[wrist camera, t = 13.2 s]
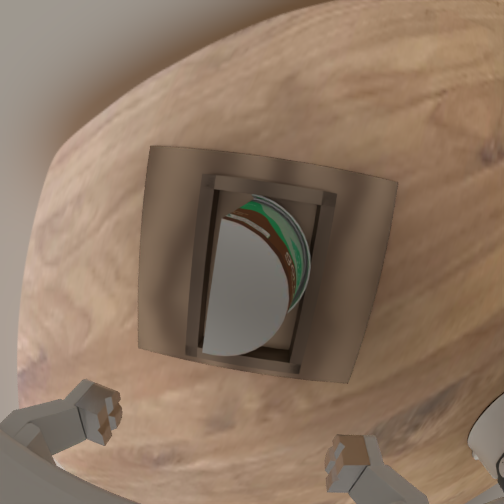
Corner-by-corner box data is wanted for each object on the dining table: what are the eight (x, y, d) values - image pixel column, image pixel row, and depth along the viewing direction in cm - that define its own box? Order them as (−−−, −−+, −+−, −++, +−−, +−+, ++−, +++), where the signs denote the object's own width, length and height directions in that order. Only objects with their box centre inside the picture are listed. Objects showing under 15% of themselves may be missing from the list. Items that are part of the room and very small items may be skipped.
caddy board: (394, 182, 27) (408, 182, 24) (346, 378, 32) (352, 396, 28) (154, 146, 28) (139, 142, 25) (141, 344, 33) (129, 358, 30)
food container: (329, 213, 17) (323, 206, 27) (225, 193, 18) (256, 193, 28) (284, 391, 20) (294, 331, 29) (200, 369, 21) (234, 317, 30)
